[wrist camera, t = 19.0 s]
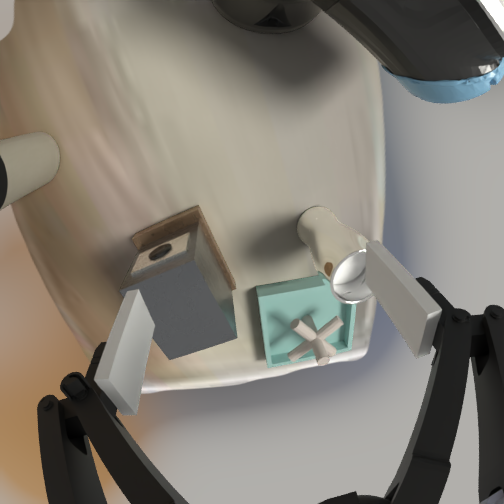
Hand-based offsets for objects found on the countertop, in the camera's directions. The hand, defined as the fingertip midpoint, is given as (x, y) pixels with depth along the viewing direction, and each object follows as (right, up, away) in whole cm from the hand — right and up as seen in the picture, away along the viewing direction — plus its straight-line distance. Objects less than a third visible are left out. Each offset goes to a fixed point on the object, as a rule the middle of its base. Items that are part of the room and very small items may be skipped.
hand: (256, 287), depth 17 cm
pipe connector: (+9, -9, +33) cm, 35 cm away
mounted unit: (-10, +1, +26) cm, 28 cm away
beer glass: (+9, +6, +27) cm, 29 cm away
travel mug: (-31, +15, +17) cm, 38 cm away
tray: (+9, -9, +34) cm, 36 cm away
